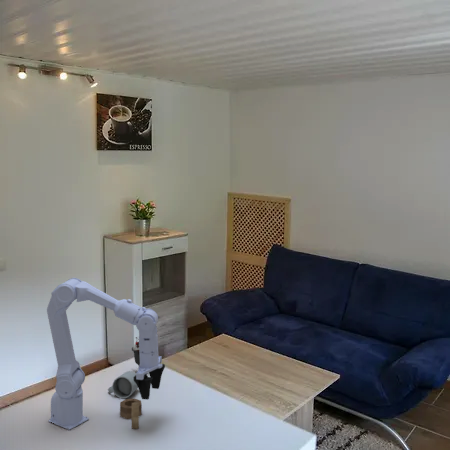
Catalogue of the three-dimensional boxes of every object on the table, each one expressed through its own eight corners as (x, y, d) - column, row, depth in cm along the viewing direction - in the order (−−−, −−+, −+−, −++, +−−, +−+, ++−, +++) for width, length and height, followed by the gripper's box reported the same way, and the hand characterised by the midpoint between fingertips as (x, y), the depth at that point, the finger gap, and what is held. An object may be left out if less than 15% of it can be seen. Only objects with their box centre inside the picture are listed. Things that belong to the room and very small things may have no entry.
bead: (115, 415, 154) (115, 404, 153) (129, 407, 159) (129, 397, 159) (131, 420, 150) (131, 409, 150) (145, 412, 156) (145, 402, 156)
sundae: (128, 376, 185) (129, 338, 184) (134, 369, 191) (135, 332, 190) (145, 377, 184) (145, 339, 183) (150, 371, 190) (151, 334, 189)
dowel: (129, 428, 146) (130, 404, 145) (134, 425, 148) (134, 401, 147) (135, 430, 145) (135, 406, 144) (140, 427, 147) (140, 403, 146)
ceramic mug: (141, 390, 173) (141, 369, 172) (132, 400, 165) (132, 378, 164) (114, 387, 175) (113, 366, 174) (103, 396, 167) (103, 375, 166)
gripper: (151, 359, 139) (153, 405, 140) (170, 343, 153) (171, 384, 154) (128, 357, 140) (130, 402, 142) (149, 341, 154) (151, 383, 156)
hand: (150, 393), depth 148 cm, fingers open, 7 cm apart
